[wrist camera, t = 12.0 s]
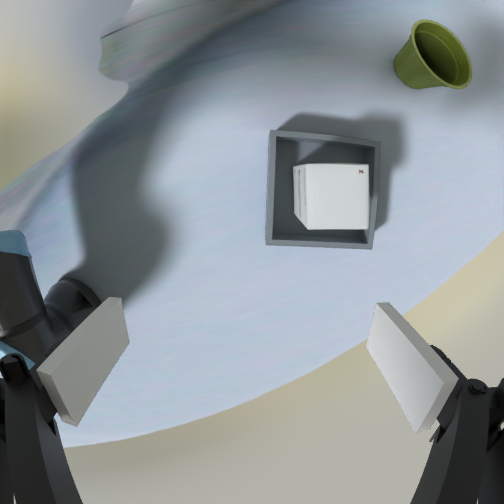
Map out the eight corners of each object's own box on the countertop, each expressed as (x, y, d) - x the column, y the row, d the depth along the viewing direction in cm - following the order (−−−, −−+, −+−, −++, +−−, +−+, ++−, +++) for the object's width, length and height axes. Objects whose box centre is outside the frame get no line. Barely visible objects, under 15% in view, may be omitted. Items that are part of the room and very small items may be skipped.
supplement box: (291, 165, 39) (305, 160, 27) (339, 166, 39) (371, 163, 27) (292, 214, 41) (306, 230, 29) (339, 214, 41) (370, 230, 29)
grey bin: (265, 237, 43) (265, 245, 38) (268, 135, 39) (270, 130, 34) (360, 241, 43) (372, 249, 38) (367, 145, 39) (380, 142, 34)
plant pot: (401, 108, 36) (437, 93, 26) (370, 48, 34) (397, 20, 23) (445, 96, 35) (482, 84, 24) (417, 41, 32) (447, 19, 21)
